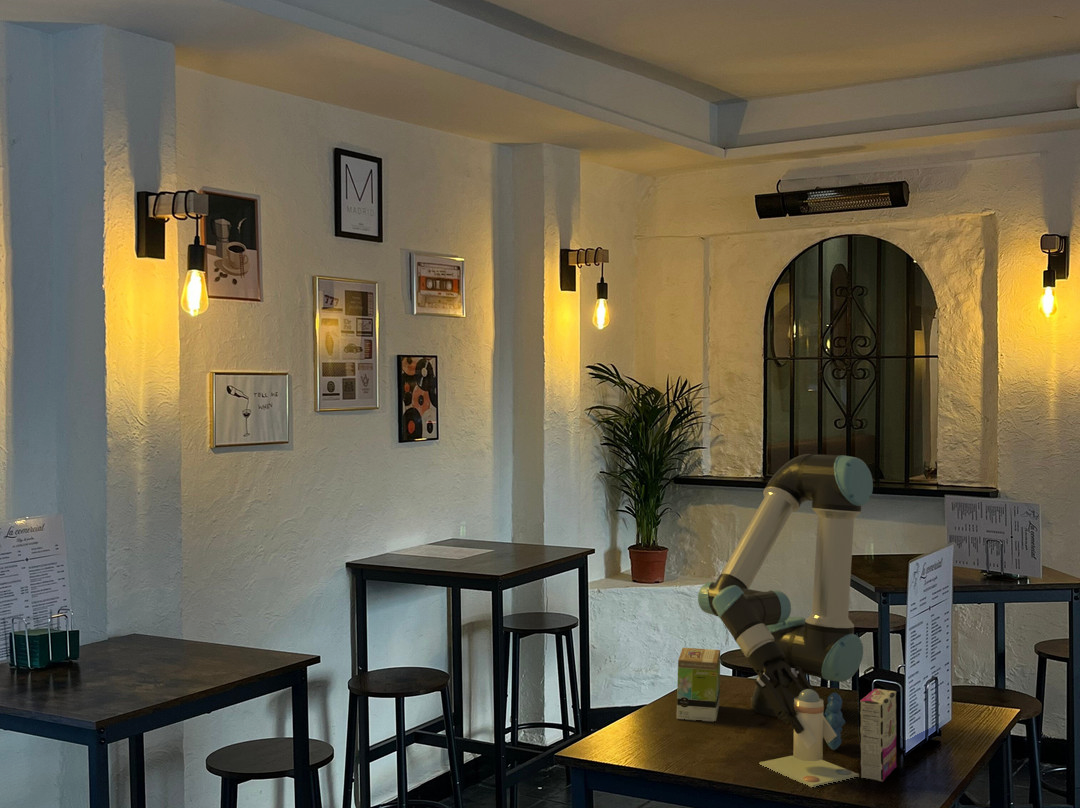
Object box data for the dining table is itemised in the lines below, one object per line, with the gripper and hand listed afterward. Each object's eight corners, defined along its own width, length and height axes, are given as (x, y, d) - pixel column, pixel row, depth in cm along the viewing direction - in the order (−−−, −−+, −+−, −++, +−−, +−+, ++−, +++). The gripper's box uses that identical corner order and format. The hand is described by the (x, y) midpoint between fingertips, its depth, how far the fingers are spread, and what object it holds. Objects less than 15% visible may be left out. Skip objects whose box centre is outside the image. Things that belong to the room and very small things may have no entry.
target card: (804, 755, 247) (804, 751, 247) (859, 777, 234) (859, 773, 234) (759, 765, 241) (759, 761, 241) (812, 787, 227) (812, 783, 227)
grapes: (816, 737, 261) (816, 686, 260) (846, 740, 259) (846, 688, 258) (812, 752, 249) (813, 698, 249) (844, 756, 247) (844, 701, 247)
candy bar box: (873, 763, 242) (874, 687, 242) (897, 767, 240) (897, 691, 240) (858, 778, 233) (859, 699, 233) (882, 782, 230) (883, 702, 230)
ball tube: (808, 750, 241) (809, 684, 241) (829, 758, 236) (830, 690, 236) (786, 754, 238) (787, 687, 238) (807, 762, 233) (808, 694, 233)
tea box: (717, 722, 272) (717, 661, 272) (675, 720, 274) (676, 659, 274) (720, 706, 287) (720, 648, 287) (680, 703, 289) (680, 646, 289)
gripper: (778, 653, 255) (838, 743, 242) (723, 665, 243) (783, 760, 230) (797, 634, 251) (860, 724, 238) (742, 645, 239) (805, 741, 226)
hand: (822, 742), depth 234 cm, fingers closed on ball tube, 6 cm apart
